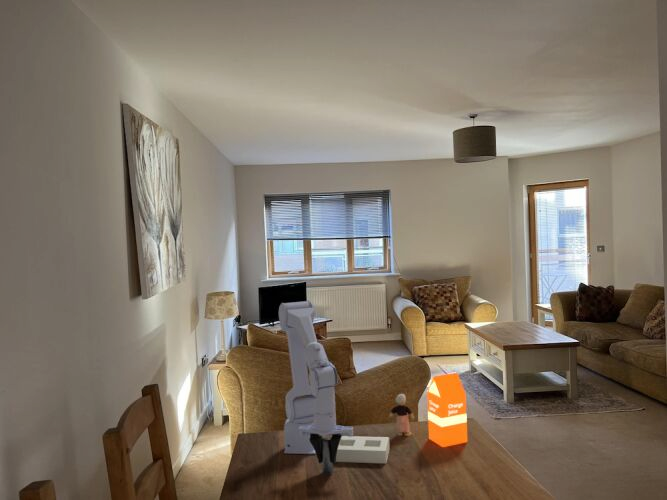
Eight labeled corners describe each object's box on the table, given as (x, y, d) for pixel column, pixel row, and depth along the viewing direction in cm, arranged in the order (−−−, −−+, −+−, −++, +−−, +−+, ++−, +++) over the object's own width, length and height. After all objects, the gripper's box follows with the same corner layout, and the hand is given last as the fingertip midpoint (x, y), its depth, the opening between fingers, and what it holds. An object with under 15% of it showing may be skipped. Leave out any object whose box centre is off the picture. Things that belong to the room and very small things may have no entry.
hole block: (329, 461, 148) (328, 449, 148) (336, 447, 158) (335, 435, 157) (386, 463, 145) (385, 450, 145) (389, 449, 154) (389, 437, 154)
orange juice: (428, 438, 161) (425, 373, 161) (453, 433, 164) (450, 369, 164) (442, 447, 154) (440, 379, 153) (468, 442, 157) (465, 375, 156)
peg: (321, 474, 139) (319, 441, 139) (323, 469, 142) (321, 437, 142) (332, 475, 139) (330, 441, 139) (334, 470, 142) (332, 437, 142)
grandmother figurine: (414, 431, 167) (412, 392, 167) (415, 436, 163) (413, 395, 163) (390, 432, 168) (388, 392, 168) (390, 436, 164) (388, 396, 164)
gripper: (294, 415, 138) (297, 467, 138) (349, 417, 135) (351, 469, 135) (301, 407, 145) (303, 456, 145) (353, 408, 142) (355, 457, 142)
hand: (327, 461), depth 141 cm, fingers closed on peg, 3 cm apart
